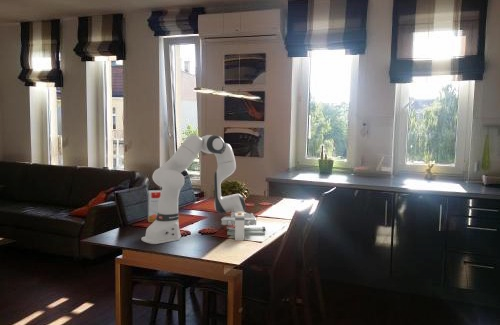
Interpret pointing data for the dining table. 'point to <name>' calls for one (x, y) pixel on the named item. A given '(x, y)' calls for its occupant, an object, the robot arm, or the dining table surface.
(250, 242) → the dining table surface
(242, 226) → the block
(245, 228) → the rail
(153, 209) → the hard drive box
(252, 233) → the mounting board
